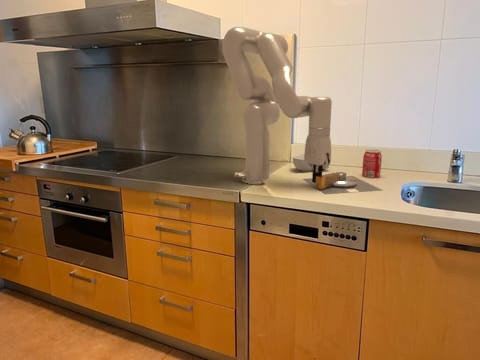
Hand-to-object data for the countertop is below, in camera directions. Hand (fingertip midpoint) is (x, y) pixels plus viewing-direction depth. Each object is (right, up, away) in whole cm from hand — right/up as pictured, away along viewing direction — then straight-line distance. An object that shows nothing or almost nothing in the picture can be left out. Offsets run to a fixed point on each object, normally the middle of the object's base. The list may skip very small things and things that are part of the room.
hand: (316, 182), depth 132 cm
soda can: (+25, +1, +15) cm, 30 cm away
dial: (+7, -1, +1) cm, 7 cm away
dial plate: (+9, -2, +4) cm, 10 cm away
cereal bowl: (+4, +5, +31) cm, 32 cm away
